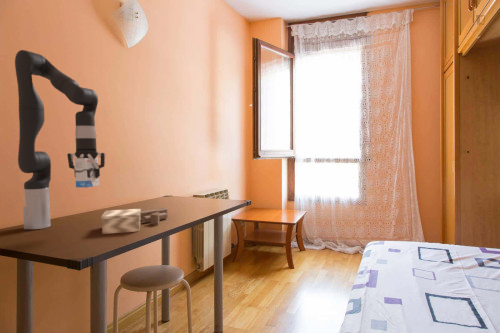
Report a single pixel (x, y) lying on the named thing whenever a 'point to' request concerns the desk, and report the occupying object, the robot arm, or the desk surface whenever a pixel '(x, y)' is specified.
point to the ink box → (85, 173)
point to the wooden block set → (153, 215)
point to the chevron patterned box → (121, 221)
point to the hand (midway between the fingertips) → (87, 178)
